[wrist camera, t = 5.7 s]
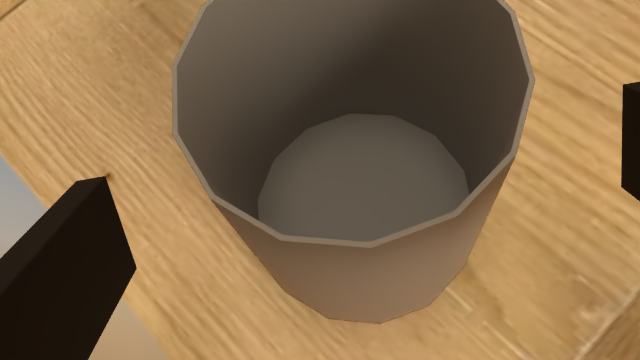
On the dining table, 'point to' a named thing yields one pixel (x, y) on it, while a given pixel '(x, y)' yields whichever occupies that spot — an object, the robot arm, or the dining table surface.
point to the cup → (354, 138)
